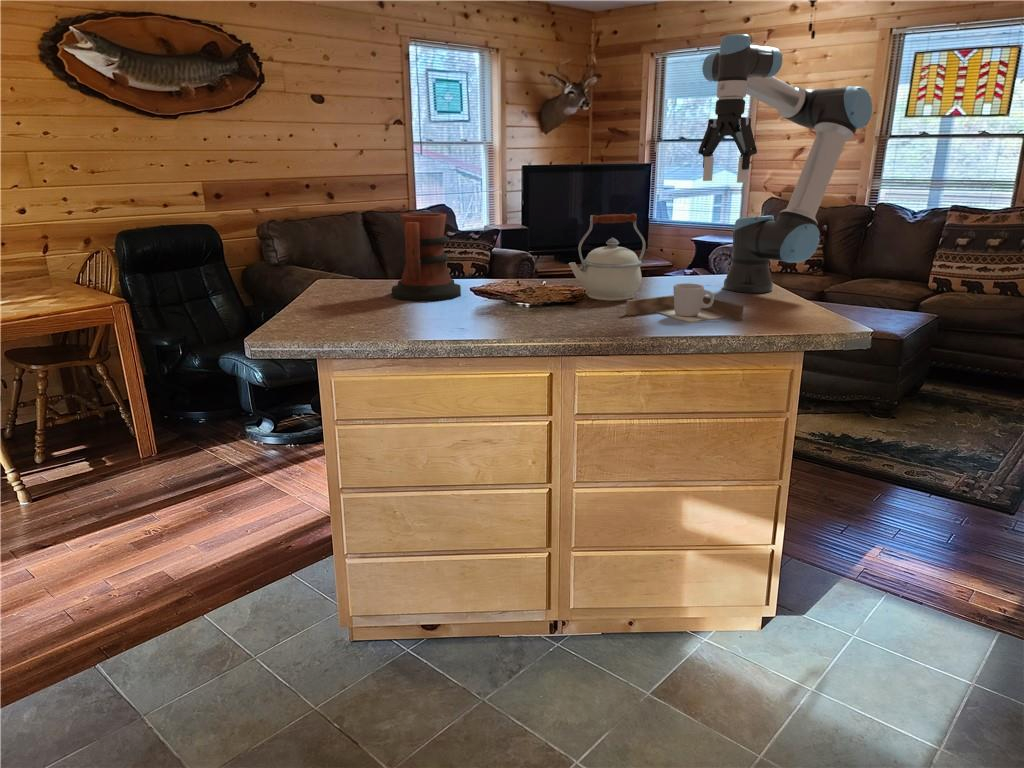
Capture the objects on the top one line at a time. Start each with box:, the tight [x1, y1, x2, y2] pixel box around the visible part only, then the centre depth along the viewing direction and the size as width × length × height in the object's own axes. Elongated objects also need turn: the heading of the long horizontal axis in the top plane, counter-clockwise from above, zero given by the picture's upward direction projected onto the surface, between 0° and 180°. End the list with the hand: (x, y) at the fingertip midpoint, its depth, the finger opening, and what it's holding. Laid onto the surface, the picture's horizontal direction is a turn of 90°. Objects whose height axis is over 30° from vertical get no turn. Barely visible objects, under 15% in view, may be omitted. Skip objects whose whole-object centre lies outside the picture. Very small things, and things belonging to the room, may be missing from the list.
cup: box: [673, 283, 715, 317], centre depth 198 cm, size 11×8×8 cm
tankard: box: [391, 212, 462, 303], centre depth 224 cm, size 22×25×25 cm
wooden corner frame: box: [625, 294, 745, 323], centre depth 197 cm, size 23×20×4 cm
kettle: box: [568, 212, 647, 302], centre depth 222 cm, size 25×18×25 cm
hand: (724, 181), depth 201 cm, fingers open, 13 cm apart
